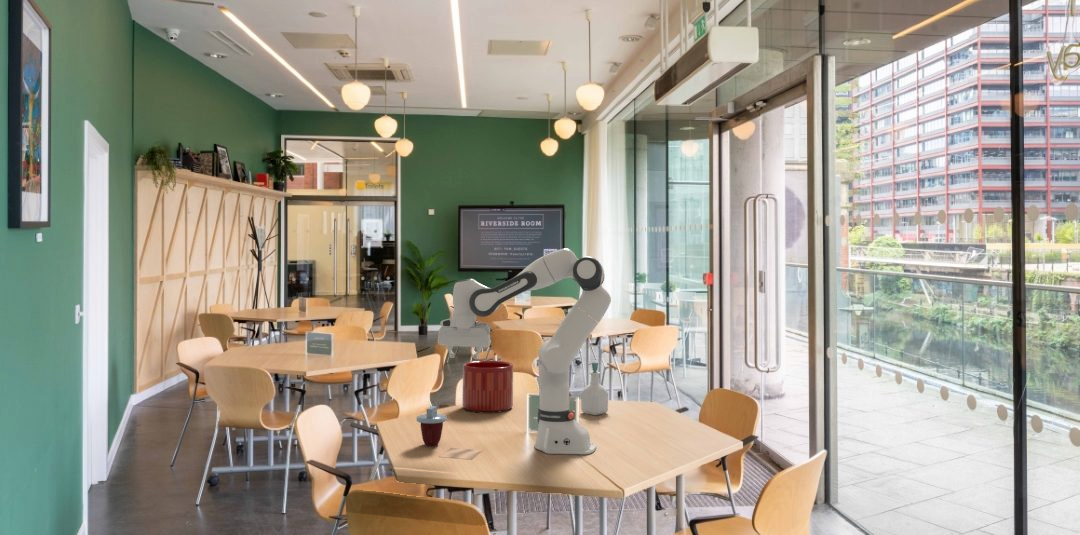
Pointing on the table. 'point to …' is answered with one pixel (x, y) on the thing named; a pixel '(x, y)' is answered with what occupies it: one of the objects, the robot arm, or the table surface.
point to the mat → (461, 453)
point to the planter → (487, 386)
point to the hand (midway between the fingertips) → (464, 358)
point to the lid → (432, 416)
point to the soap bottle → (594, 395)
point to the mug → (431, 433)
